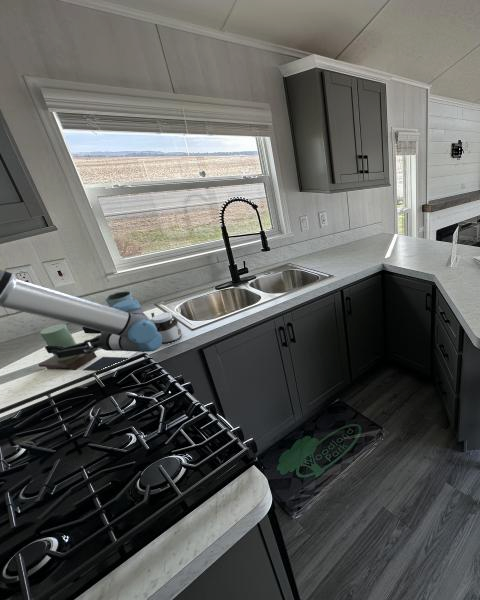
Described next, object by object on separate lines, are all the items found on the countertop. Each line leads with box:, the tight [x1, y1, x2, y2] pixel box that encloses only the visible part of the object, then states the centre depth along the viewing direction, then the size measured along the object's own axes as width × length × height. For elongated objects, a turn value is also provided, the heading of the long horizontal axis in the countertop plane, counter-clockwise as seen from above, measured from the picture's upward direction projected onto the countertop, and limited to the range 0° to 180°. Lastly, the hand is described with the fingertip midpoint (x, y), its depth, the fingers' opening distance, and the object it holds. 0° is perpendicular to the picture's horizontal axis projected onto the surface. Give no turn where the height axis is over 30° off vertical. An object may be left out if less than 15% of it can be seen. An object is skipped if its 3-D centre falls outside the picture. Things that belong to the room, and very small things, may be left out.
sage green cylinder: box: [40, 323, 77, 361], centre depth 124 cm, size 7×7×12 cm
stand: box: [37, 348, 99, 371], centre depth 127 cm, size 12×12×4 cm
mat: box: [82, 356, 129, 372], centre depth 124 cm, size 13×13×1 cm
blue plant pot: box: [104, 290, 134, 308], centre depth 161 cm, size 10×10×12 cm
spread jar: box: [151, 312, 182, 345], centre depth 140 cm, size 12×11×12 cm
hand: (66, 339), depth 123 cm, fingers open, 13 cm apart
